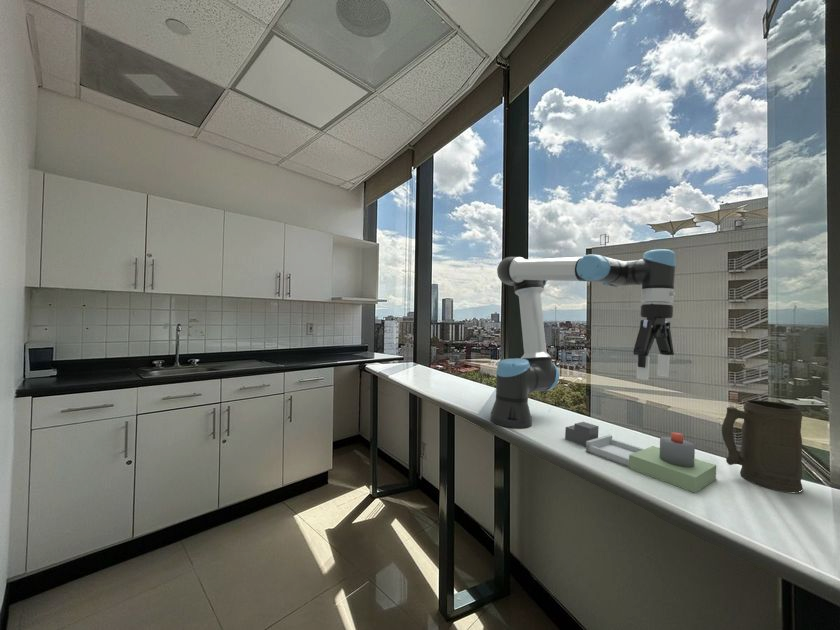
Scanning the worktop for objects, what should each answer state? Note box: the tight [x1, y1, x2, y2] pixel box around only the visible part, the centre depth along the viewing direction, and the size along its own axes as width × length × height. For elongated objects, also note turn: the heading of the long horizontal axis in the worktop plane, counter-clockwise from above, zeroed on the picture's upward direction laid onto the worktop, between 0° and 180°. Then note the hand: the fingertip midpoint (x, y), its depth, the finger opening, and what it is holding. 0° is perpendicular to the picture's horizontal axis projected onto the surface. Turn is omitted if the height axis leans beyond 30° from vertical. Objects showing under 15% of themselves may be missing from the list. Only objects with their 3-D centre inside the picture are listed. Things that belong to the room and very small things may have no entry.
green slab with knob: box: [585, 431, 717, 493], centre depth 89 cm, size 26×14×10 cm, turn 33°
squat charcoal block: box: [564, 421, 600, 447], centre depth 105 cm, size 8×5×6 cm, turn 33°
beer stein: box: [721, 399, 804, 493], centre depth 82 cm, size 15×11×20 cm
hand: (653, 377), depth 94 cm, fingers open, 13 cm apart
